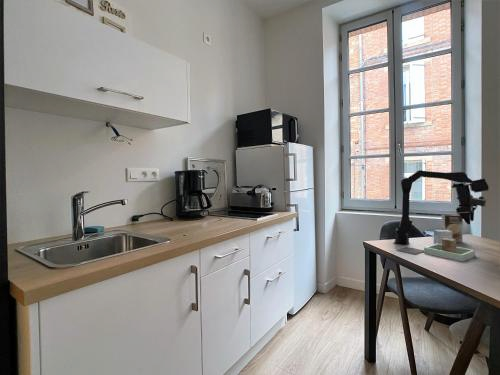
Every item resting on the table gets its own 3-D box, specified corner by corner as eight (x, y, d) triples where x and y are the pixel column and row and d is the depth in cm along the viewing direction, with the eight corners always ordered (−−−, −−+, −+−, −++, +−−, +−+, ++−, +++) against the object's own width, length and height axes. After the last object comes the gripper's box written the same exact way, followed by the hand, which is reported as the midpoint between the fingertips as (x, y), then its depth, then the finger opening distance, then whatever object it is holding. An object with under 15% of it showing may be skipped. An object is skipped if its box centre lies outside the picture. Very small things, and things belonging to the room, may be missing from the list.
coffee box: (444, 241, 161) (444, 215, 160) (441, 239, 167) (441, 213, 166) (463, 242, 158) (463, 215, 157) (458, 239, 164) (458, 214, 163)
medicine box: (447, 244, 154) (447, 229, 154) (452, 246, 150) (452, 231, 149) (433, 244, 155) (433, 229, 154) (437, 246, 150) (437, 231, 150)
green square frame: (424, 253, 139) (423, 247, 139) (437, 248, 146) (437, 243, 146) (462, 261, 124) (462, 255, 124) (475, 256, 131) (475, 250, 131)
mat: (396, 250, 145) (396, 249, 145) (406, 247, 150) (406, 246, 150) (415, 254, 136) (415, 253, 136) (425, 251, 141) (425, 250, 141)
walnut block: (441, 254, 136) (441, 239, 135) (446, 252, 138) (445, 237, 138) (452, 256, 132) (451, 240, 132) (456, 254, 134) (456, 239, 134)
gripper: (479, 194, 131) (487, 225, 130) (486, 189, 143) (493, 218, 142) (452, 197, 139) (459, 226, 139) (460, 193, 152) (467, 219, 151)
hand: (470, 222), depth 142 cm, fingers open, 9 cm apart
